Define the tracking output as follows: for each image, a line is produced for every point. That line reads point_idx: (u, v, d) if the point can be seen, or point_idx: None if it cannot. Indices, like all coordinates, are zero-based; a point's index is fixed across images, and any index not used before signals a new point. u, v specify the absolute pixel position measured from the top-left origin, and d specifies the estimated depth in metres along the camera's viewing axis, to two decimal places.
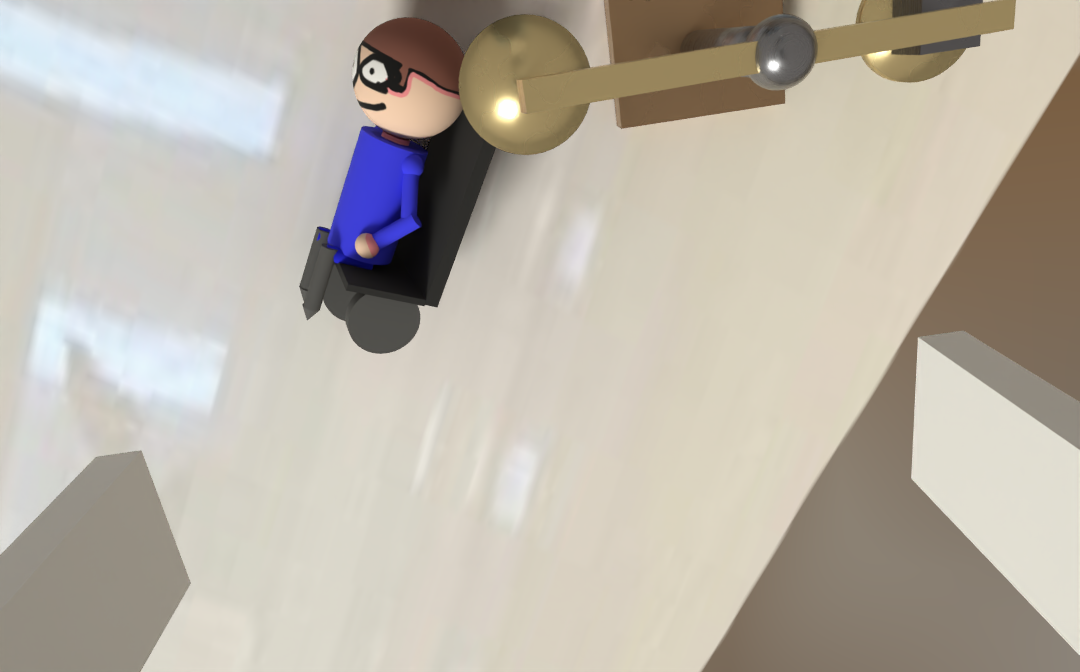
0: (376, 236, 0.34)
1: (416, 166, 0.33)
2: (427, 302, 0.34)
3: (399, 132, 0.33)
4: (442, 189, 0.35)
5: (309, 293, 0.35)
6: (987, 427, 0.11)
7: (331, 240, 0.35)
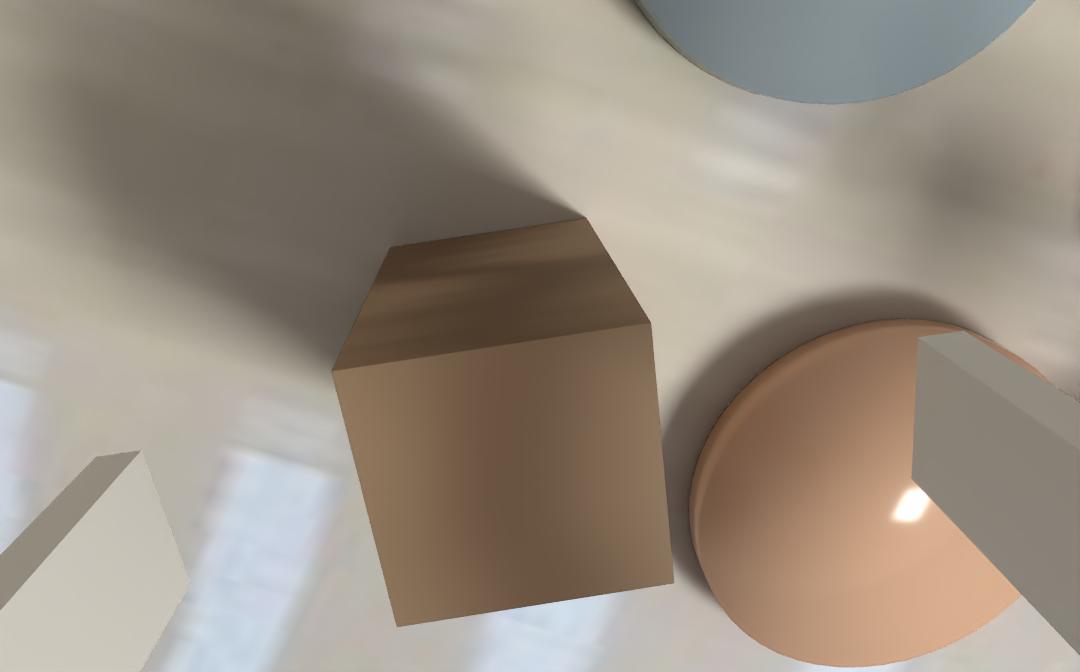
0: None
1: None
2: None
3: None
4: None
5: None
6: (987, 427, 0.11)
7: None
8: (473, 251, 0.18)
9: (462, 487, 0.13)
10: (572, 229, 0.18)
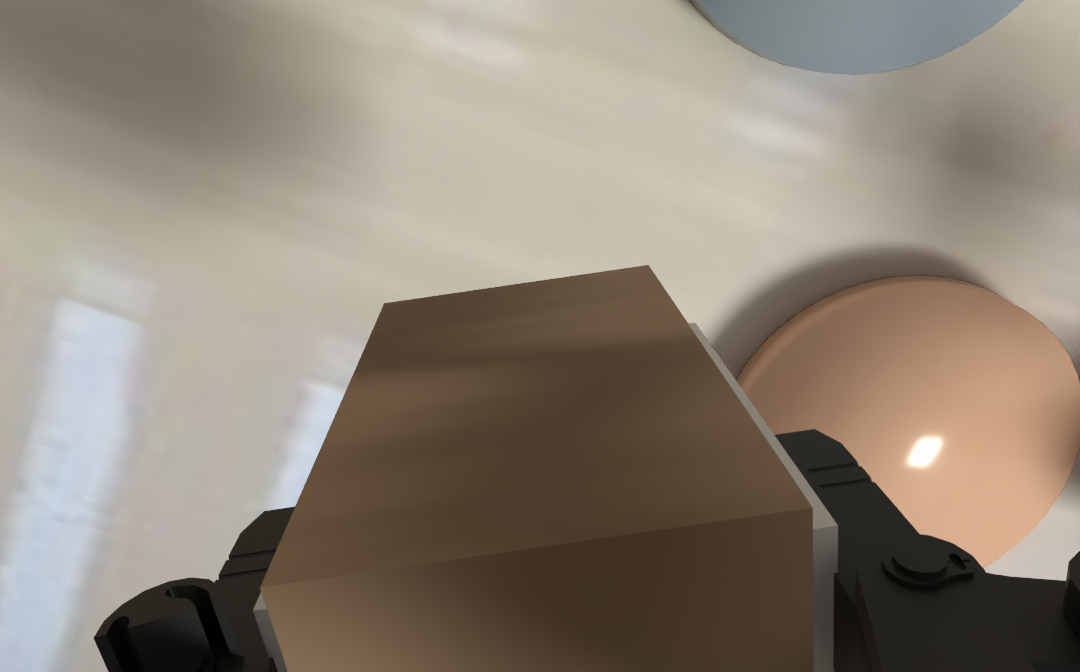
0: None
1: None
2: None
3: None
4: None
5: None
6: None
7: None
8: (496, 318, 0.13)
9: None
10: (633, 285, 0.13)
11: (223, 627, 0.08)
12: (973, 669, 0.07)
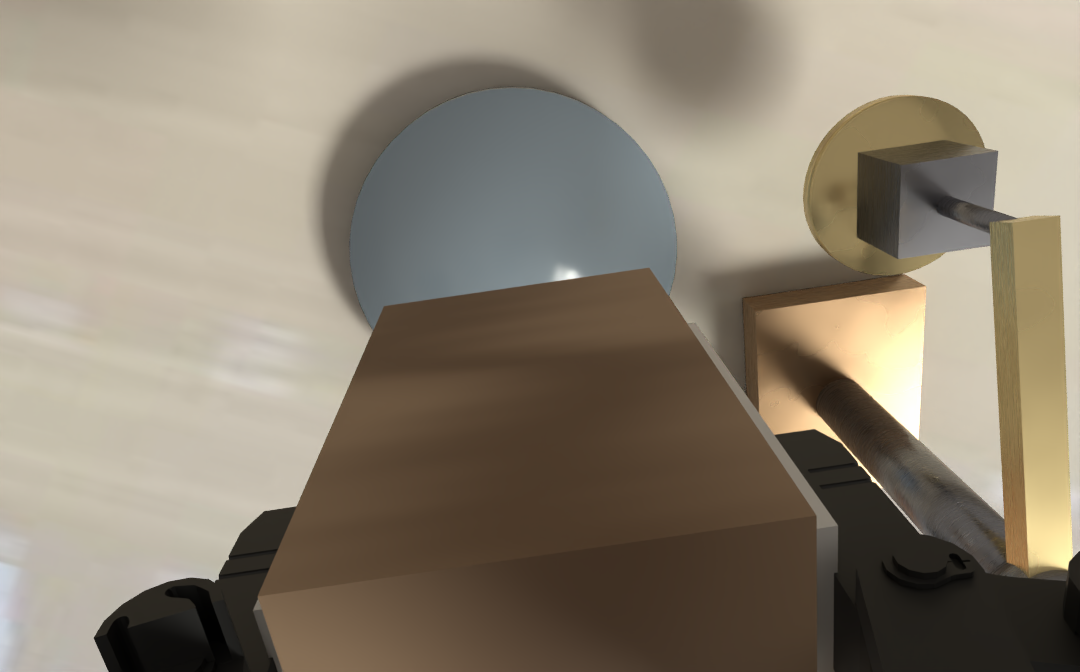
0: None
1: None
2: None
3: None
4: None
5: None
6: None
7: None
8: (497, 321, 0.13)
9: None
10: (634, 288, 0.13)
11: (224, 627, 0.08)
12: (972, 669, 0.07)
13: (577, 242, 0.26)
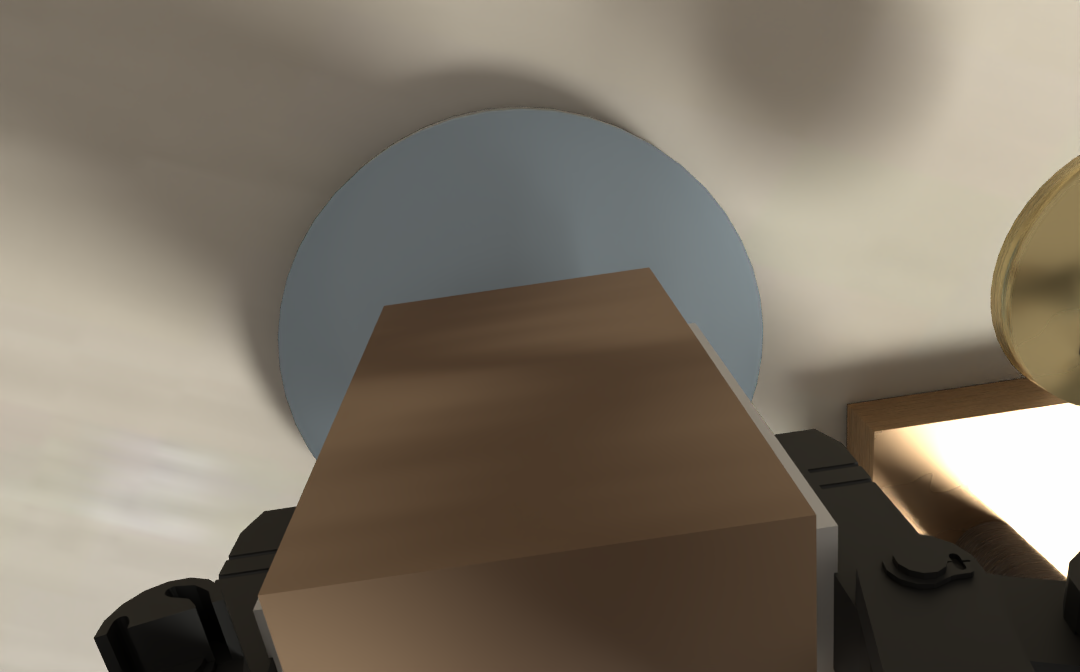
0: None
1: None
2: None
3: None
4: None
5: None
6: None
7: None
8: (497, 321, 0.13)
9: None
10: (634, 287, 0.13)
11: (224, 627, 0.08)
12: (973, 669, 0.07)
13: None
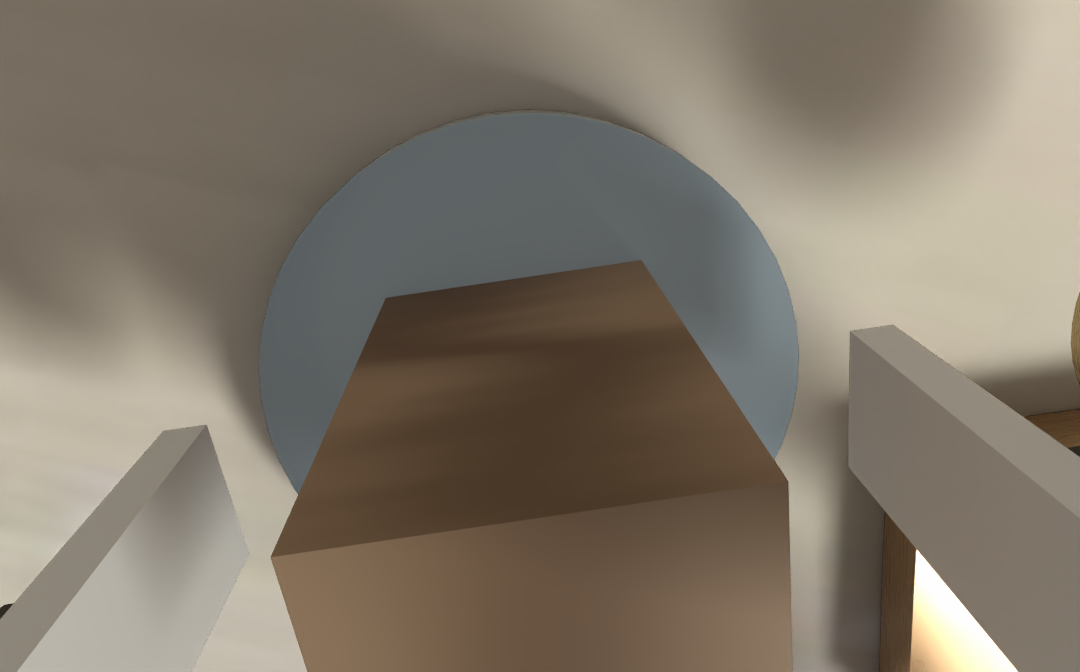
0: None
1: None
2: None
3: None
4: None
5: None
6: (906, 415, 0.11)
7: None
8: (494, 311, 0.13)
9: None
10: (625, 279, 0.14)
11: None
12: None
13: None
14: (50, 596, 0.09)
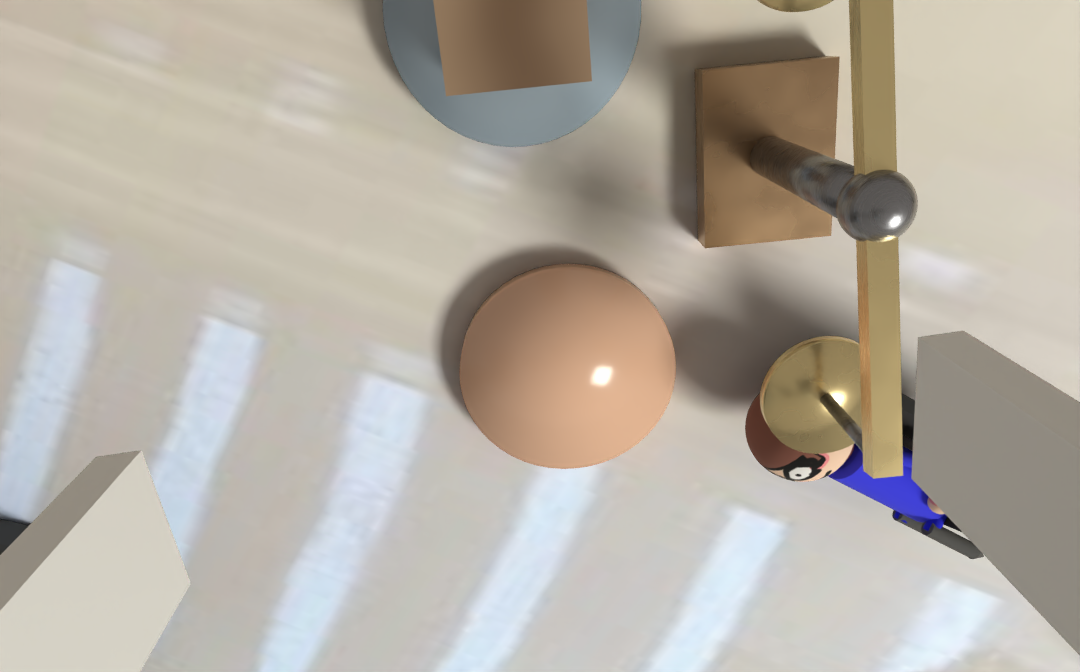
0: None
1: None
2: None
3: None
4: None
5: (963, 552, 0.38)
6: (988, 427, 0.11)
7: (917, 520, 0.39)
8: None
9: (483, 8, 0.25)
10: None
11: None
12: None
13: None
14: None
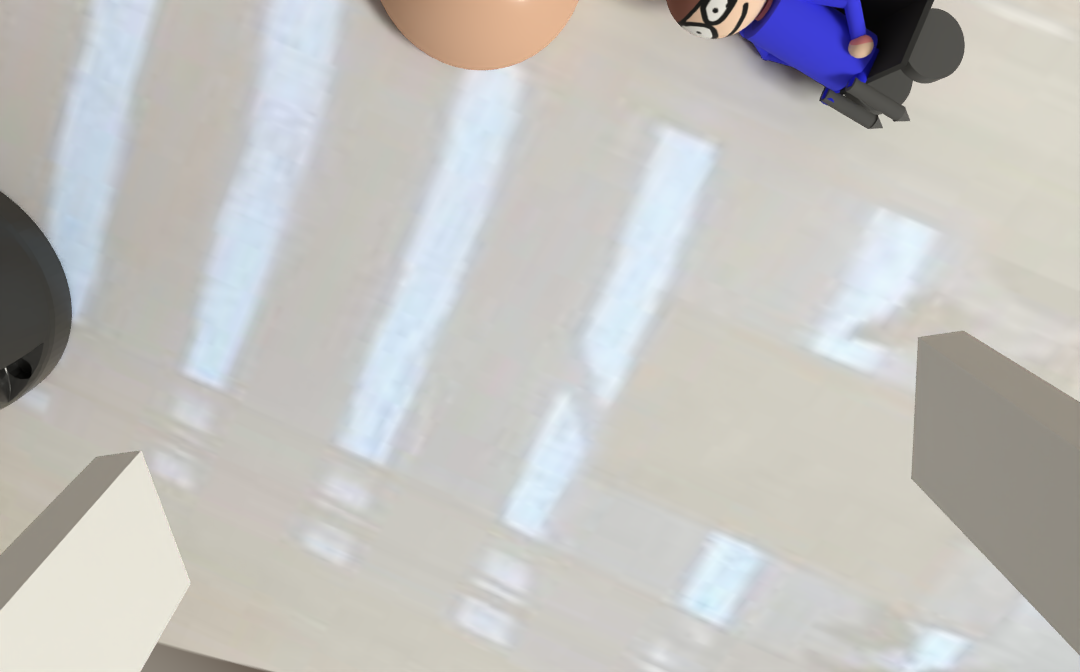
0: (855, 34, 0.36)
1: None
2: None
3: None
4: None
5: (888, 111, 0.38)
6: (988, 428, 0.11)
7: (842, 84, 0.38)
8: None
9: None
10: None
11: None
12: None
13: None
14: None
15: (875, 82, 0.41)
